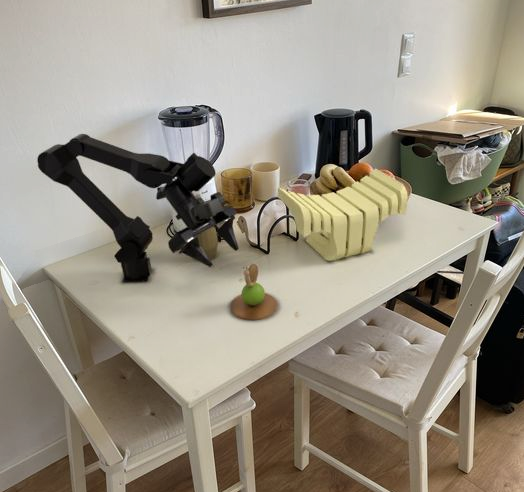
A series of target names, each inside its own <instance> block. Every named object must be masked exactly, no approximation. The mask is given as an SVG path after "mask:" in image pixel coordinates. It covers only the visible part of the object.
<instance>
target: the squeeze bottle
mask: <svg viewBox="0 0 524 492" xmlns="http://www.w3.org/2000/svg"><path fill="white" fill-rule="evenodd" d="M195 197H196V198H197V199H198V198H202V196H201V193H195ZM211 218H212V217H211ZM216 229H217V228H215V227H212V228H210V229H208V230H206V231H205V232H203V233H201V234H199V235H197V236H198V239H199V244H200V246H201V248H202V249H203V250H204V252H205V253H206V254H207V256H208V257H209V259H210V260H211V259H213V258H214V257H215V256H216V253H217V250H218V246H219V239H218V233H217V232H216V231H217V230H216ZM197 236H196V237H197ZM196 237H194V238H196Z"/></svg>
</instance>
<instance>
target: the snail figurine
mask: <svg viewBox="0 0 524 492" xmlns="http://www.w3.org/2000/svg"><path fill="white" fill-rule="evenodd" d="M242 269H243V276H244V282H245V284H244V286H243V288H242V289H241V295H242V298H243V300H244V302H245V303H247V304H249V305H258V304H260V303H261V302H262V301H263V299H264V296H265V293H266V292H265V289H264V287H263V285H261V284H260V283H258V282H257V281H258V276H259V266H258V265H257V264H256V263H251V264H250V265H249V266H242Z"/></svg>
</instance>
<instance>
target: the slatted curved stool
mask: <svg viewBox="0 0 524 492" xmlns="http://www.w3.org/2000/svg"><path fill="white" fill-rule="evenodd" d="M277 198H278V199H279V200H280V201H281V202H283V204H284V205H286V207H287V209H288V210H289V211H290V213H291V214H292V217H293V219H294V223H295V228H296V232H298V234H299V235H300V236H301V237H303V238H306V237H307V238H306V239H305V241H306V242H307V243H308V244H309V246H311V247H312V248H313V249H314V250H315V251H316V253H318V254H319V255H320V256H321V257H322V258H324V260H326V261H328V262H330V261H335V260H338V259H343V258H346V257H351V256H357V255H359V254H364V253H367V252H372V248H373V242H374V238H375V236H376V233H377V230H378V229H379V222H381V223H382V222H383V221H384V220H386V219H388V217H389V216H391V217H393V216H397V215H398V214H399V215H407V208H408V200H409V199H408V198H409V195H408V192H407V187H405V185H404V183H402V182H400V181H398V180H397V179H395V178H393V177H391V176H390V175H388V174H386V173H384V171H381V170H379V169H377V168H374V169H373V170H371V171H370V172H369V175H365V176H364V177H362V178H360V180H359V181H355V182H354V183H352V184H351V186H346V187H344V188H342V189H339V190H336V193H335V192H333V191H332V192H328V193H323V194H321V195H320V194H306V195H305V194H303V193H295V192H294V191H291V190H286V189H284V188H281V187H279V186H278V187H277Z"/></svg>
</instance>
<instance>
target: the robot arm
mask: <svg viewBox="0 0 524 492" xmlns="http://www.w3.org/2000/svg"><path fill="white" fill-rule="evenodd" d="M78 157H83V158H86V159H89V160H91V161H94V162H97V163H100V164H102V165H105V166H108V167H110V168H113V169H117V170H118V171H121V172H125V173H127V174H128V175H130V176H131V177H132V178H133V179H134V180H135V181H137V182H138V183H140V184H142V185H143V186H145V187H148V188H150V189H156V190H157V192H156V194H155V199H156V200H157V201H159V200H162V199H166V200H167V202H168V204H170V206H171V207H172V209H173V210H174V211H175V212H176V215H175V218H176V220H177V221H180V220H181V221H182V222H183V223H184V226H185V227H184V228H183V229H181V230H179V231H177V232H175V233H174V235H173V236H171V238H170V239H169V240H168V241H167V243H168V245H167V246H168V248H169V250H170V251H171V253H172V254H175V253H177V252H178V254H179V255H181V254H183V255H185V256H187V257H190V258H192V259H194V260H196V261H197V262H200V263H201V264H203V265H205V266H207V267H208V268H211V267H213V264H214V263H213V262H212V260H211V258H210V259H209V257H208V256H207V254H206V253H205V252H204V250H203V249H202V248H201V246H200V244H199V239H198V236H197V235H199V234H201V233H203V232H205V231H206V230H208V229H210V228H212V227H215V229H217V230H216V234H217V235H219V236H220V237H221V238H222V239H223V240H224V241H225V242H226V244H228V246H229V247H230V248H231V249H232V250H234V251H235V252H237V251H238V250H239V245H238V241H237V238H236V234H235V231H234V220H235V219H236V215H237V214H238V212H237V210H236V209H235V208H234V206H232V205H230V204H229V205H228V204H227V202H226V199H225V197H224V195H222V193H221V192H220V191H217V192H215V193H213V194H211V195H210V199H208V200H204V199H203V198H202V197H201V198H198V199H197V198H196V195H195V194H194V193H193V192H200V191H201V189H203V188H204V186H206V185H207V184H208V183H209V182H210V181H211V180H212V179H213V178H214V177H215V176H216V175H217V174H216V173H217V172H216V169H215V167H214V165H213V164H212V163H211V162H210V160H208V159H206V158H205V157H202V156H200V155H197V153H195V152H192V153H191V154H190V155H189V157H187V159H186V161H185V162H184V163H182V162H177V161H173V160H169V159H168V158H167V157H166V156H164V155H161V154H155V153H138V152H133V151H130V150H127V149H125V148H122V147H119V146H116V145H114V144H110V143H108V142H105V141H102V140H99V139H96V138H94V137H91V136H90V135H88V134H87V133H79V134H77V135H75V136H73V138H71V139H69V141H68V142H66V143H65V144H62V143H61V144H60V143H57V144H54V145H53V146H51V147H49V148H47V149H46V150H43V151H42V152H40V153H39V154H38V156H37V159H36V160H37V161H36V162H37V167H38V170H40V172H41V173H42V174H43V175H45V176H46V177H47V178H49V179H50V180H51V181H53V182H55V183H57V184H60V185H63V186H65V187H67V188H69V189H70V190H71V191H72V193H74V194H75V195H76V196H77V198H79V199H80V200H81V201H82V202H83V203H84V204H85V205H86V206H87V207H88V208H89V209H90V210H91V211H92V212H93V213H94V214H95V215H96V216H97V217H98V218H99V219H100V220H101V221H102V222H103V223H104V224H105V225H107V226H108V227H109V228H110V230H111V231H112V233H113V235H114V238H115V241H116V243H117V245H118V246H119V247H120V248H119V250H118V251H116V253H115V254H114V255H113V257H114V259H115V261H116V262H117V263H120V265H121V270H122V275H123V277H122V280H121V281H122V283H142V282H145V283H146V282H148V280H149V278H150V276H151V275H152V271H153V269H152V265H151V259H150V258H151V257H148V254H147V251H146V250H148V248H149V246H150V244H152V242H153V240H154V238H153V235H154V234H153V232H152V230H151V229H150V228H151V226H150V225H148V224H146V222H144V220H143V219H142V217H140V216H138V215H137V216H136V217H130V216H127V215H126V214H125V213H124V212H123V211H122V210H121V209H120V208H119V207H118V206H117V205H116V204H115V203H114V202H113V201H112V200H111V199H110V198H109V197H108V196H107V195H106V193H104V192H103V191H102V189H100V188H99V187H98V186H97V185H96V184H95V183H94V182H93V181H92V180H91V179H90V178H89V177H88V176H87V175H86V174H85V173H84V172H83V170H82V166H81V164H80V161H79V159H78ZM226 204H227V205H226ZM225 205H226V206H225ZM211 217H212V218H211ZM196 236H197V237H196ZM194 237H196V238H194Z"/></svg>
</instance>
